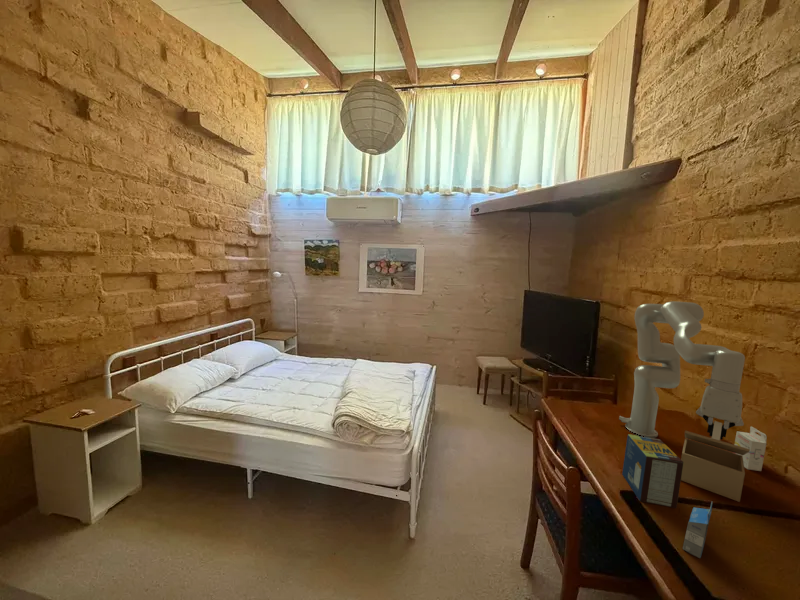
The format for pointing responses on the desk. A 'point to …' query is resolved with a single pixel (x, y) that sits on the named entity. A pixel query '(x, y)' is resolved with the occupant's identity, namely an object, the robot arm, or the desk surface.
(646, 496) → the protein box
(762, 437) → the ink cartridge box
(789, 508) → the desk surface
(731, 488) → the carton
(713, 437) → the carton flap
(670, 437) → the desk surface
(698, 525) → the label tape box
